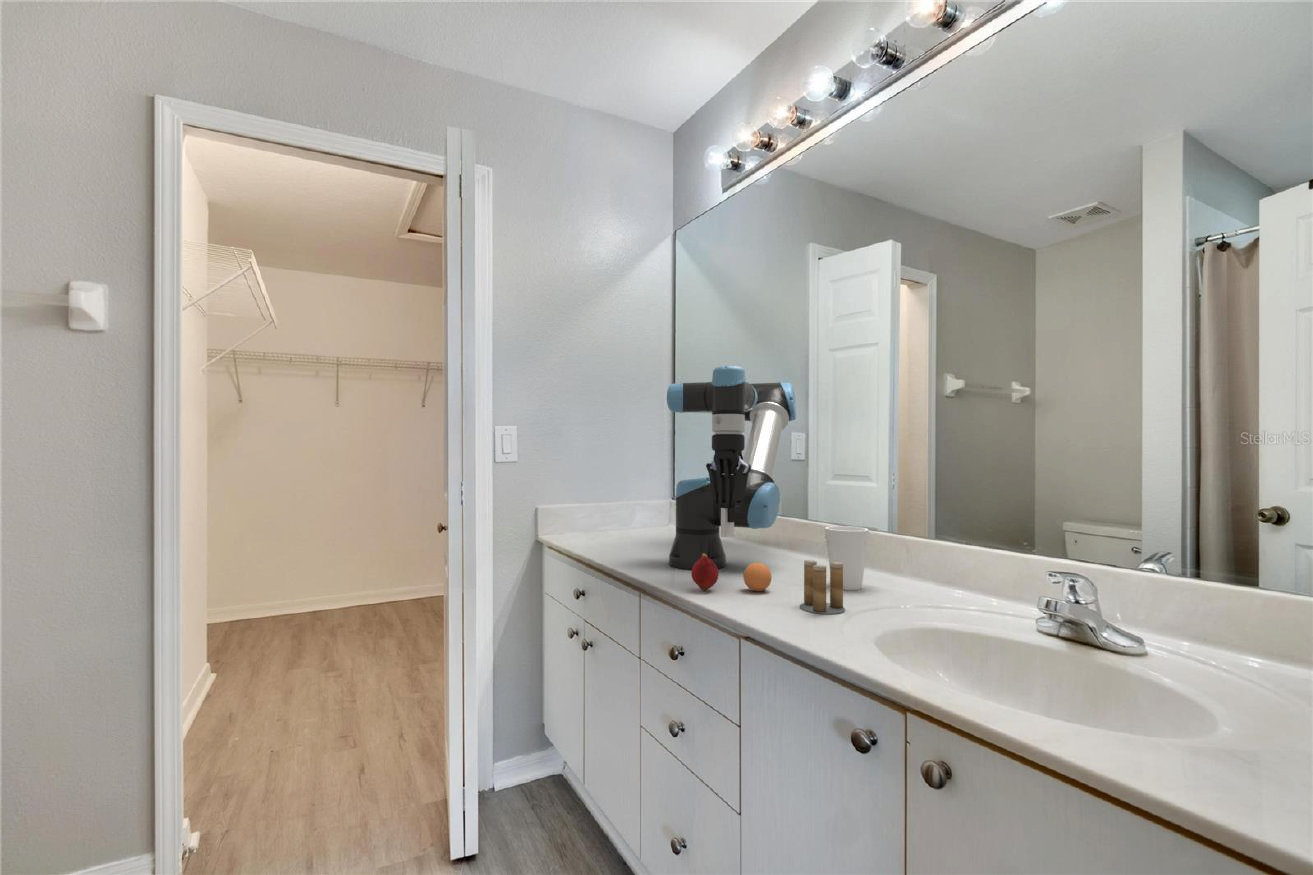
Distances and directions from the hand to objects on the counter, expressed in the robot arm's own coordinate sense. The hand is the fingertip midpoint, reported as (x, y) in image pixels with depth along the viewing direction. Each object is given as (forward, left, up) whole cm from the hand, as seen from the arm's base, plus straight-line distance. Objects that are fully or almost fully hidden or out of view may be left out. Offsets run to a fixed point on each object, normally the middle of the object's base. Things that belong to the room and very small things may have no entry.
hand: (727, 536), depth 137 cm
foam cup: (-4, +26, -11) cm, 29 cm away
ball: (+6, +7, -8) cm, 12 cm away
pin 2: (+16, +23, -11) cm, 30 cm away
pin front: (+15, +18, -11) cm, 26 cm away
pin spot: (+17, +21, -11) cm, 29 cm away
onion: (+9, -4, -11) cm, 14 cm away
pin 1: (+20, +20, -11) cm, 30 cm away
